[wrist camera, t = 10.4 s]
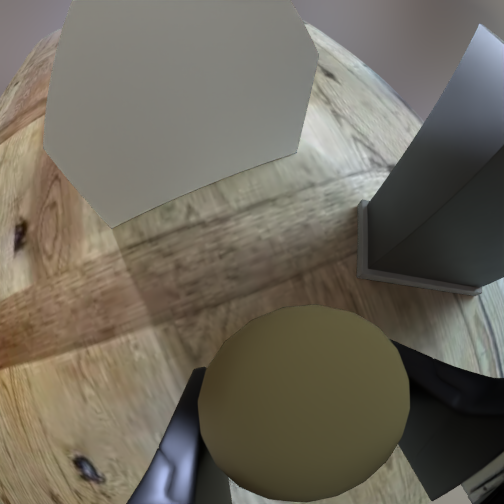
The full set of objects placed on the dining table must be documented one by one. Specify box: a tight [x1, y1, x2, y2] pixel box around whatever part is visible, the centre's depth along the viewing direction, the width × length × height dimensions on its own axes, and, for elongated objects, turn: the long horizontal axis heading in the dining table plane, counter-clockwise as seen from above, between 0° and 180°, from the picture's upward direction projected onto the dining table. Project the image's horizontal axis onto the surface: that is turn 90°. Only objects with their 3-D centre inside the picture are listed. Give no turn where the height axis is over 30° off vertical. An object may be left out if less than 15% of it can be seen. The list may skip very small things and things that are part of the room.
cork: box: [198, 304, 410, 502], centre depth 9 cm, size 6×6×11 cm
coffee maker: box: [357, 24, 504, 296], centre depth 13 cm, size 10×15×20 cm, turn 80°
